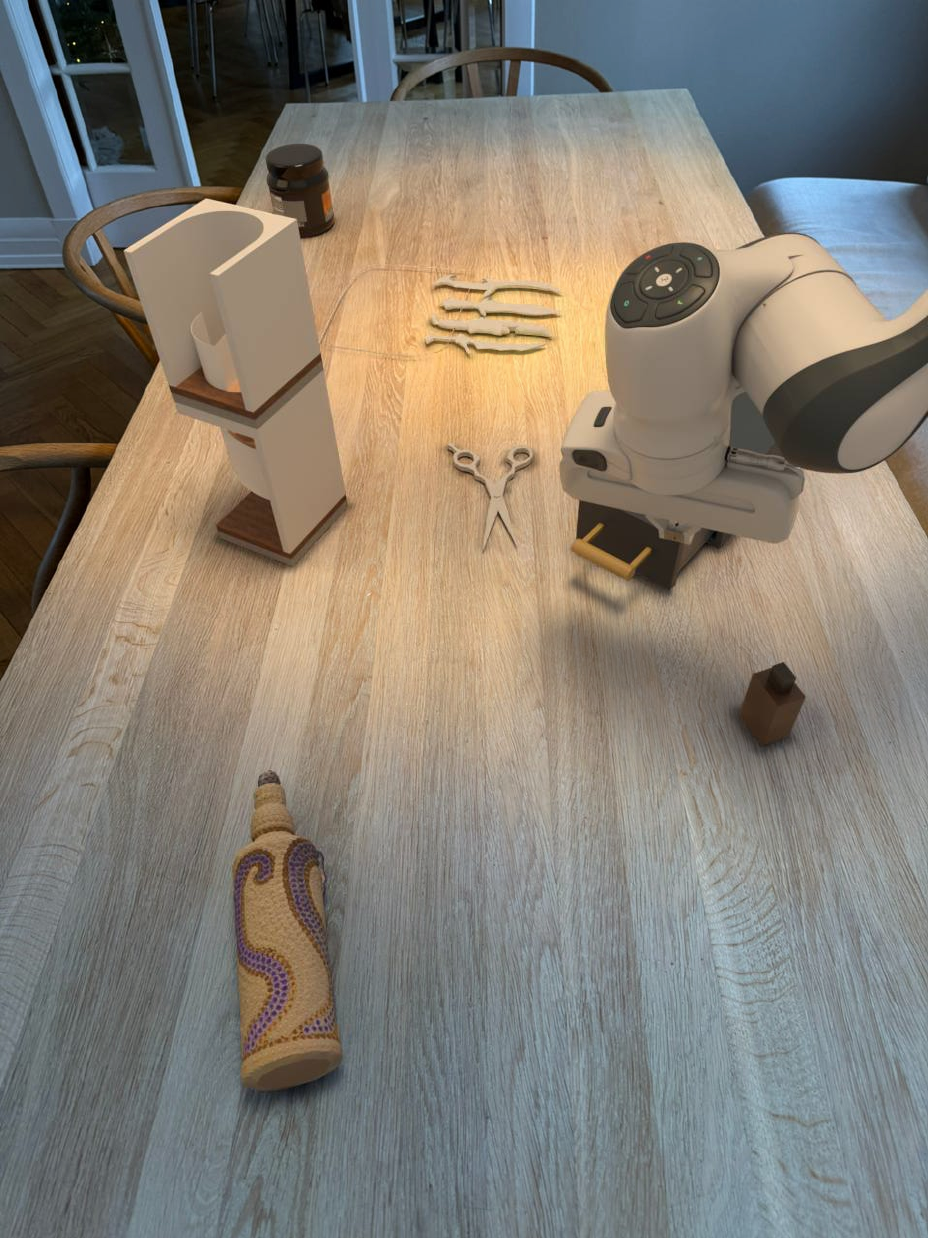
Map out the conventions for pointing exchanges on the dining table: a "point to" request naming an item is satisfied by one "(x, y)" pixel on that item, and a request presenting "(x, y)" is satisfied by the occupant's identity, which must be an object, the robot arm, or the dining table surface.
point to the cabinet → (746, 440)
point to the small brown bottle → (772, 704)
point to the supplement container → (300, 187)
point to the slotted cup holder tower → (247, 365)
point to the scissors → (493, 489)
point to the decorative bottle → (282, 951)
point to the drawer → (631, 544)
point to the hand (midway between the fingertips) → (677, 535)
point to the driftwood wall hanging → (484, 314)
